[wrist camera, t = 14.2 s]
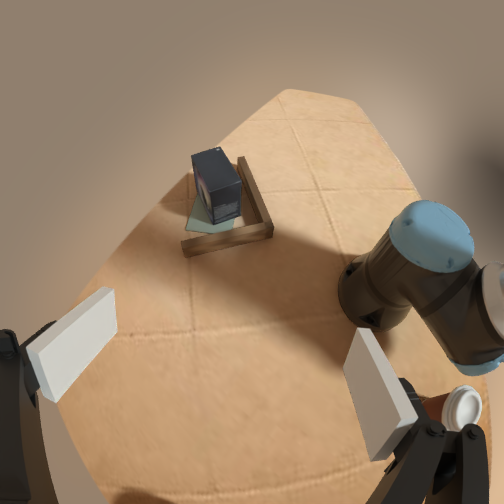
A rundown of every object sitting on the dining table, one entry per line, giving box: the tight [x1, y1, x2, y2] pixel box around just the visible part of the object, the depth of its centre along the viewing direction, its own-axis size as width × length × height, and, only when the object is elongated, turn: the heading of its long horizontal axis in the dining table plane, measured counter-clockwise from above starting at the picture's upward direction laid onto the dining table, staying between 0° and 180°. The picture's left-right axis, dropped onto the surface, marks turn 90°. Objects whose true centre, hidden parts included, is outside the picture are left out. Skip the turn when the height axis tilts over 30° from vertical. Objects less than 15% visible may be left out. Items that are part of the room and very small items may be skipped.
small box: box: [191, 147, 242, 225], centre depth 53 cm, size 11×6×10 cm, turn 26°
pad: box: [186, 186, 242, 234], centre depth 57 cm, size 9×13×1 cm
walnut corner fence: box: [181, 156, 274, 258], centre depth 56 cm, size 17×20×4 cm
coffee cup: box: [421, 385, 482, 432], centre depth 32 cm, size 9×9×12 cm
